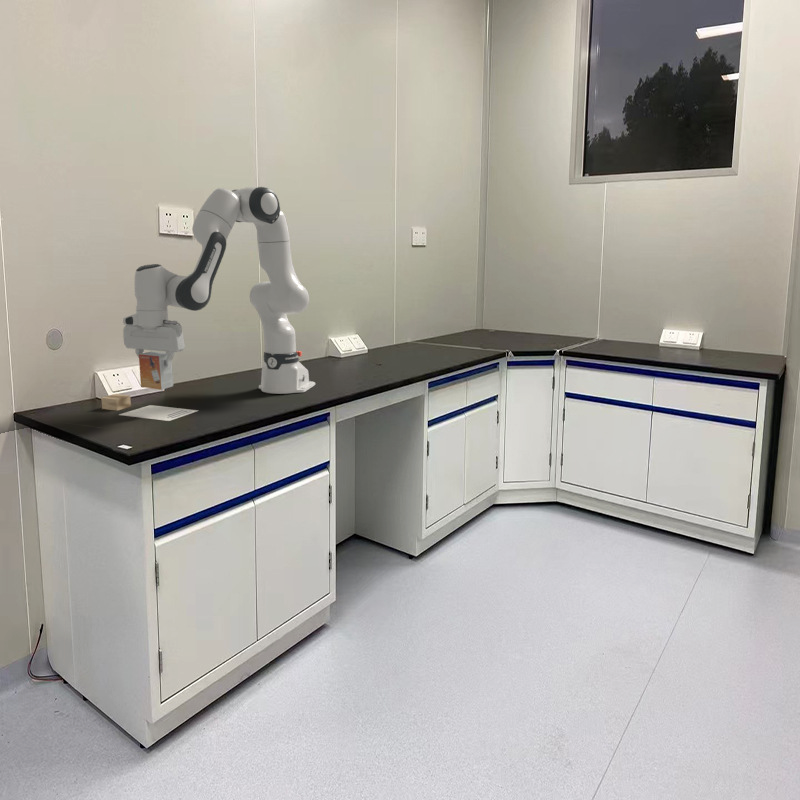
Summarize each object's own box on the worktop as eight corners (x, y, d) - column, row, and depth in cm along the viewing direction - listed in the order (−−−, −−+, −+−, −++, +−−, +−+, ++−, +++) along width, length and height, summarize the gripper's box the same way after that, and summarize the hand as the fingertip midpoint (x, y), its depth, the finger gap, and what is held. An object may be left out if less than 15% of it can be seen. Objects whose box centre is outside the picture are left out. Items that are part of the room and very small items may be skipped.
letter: (150, 405, 213) (150, 404, 213) (198, 411, 207) (198, 410, 207) (118, 415, 201) (118, 414, 200) (168, 421, 194) (168, 420, 194)
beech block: (116, 406, 213) (115, 394, 212) (131, 407, 211) (130, 395, 210) (102, 410, 208) (101, 397, 207) (117, 411, 206) (116, 399, 205)
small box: (140, 387, 201) (137, 353, 198) (153, 384, 206) (150, 351, 203) (161, 390, 198) (158, 355, 196) (174, 386, 203) (171, 352, 201)
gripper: (187, 320, 197) (190, 365, 200) (133, 316, 204) (136, 360, 207) (173, 322, 191) (176, 368, 194) (118, 318, 198) (121, 363, 201)
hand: (155, 364), depth 200 cm, fingers closed on small box, 8 cm apart
